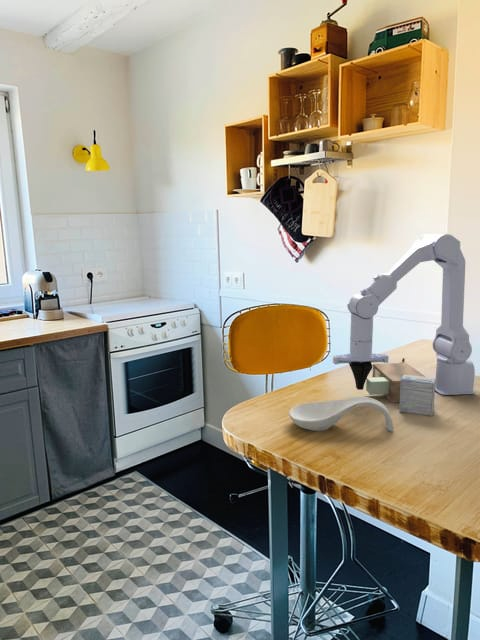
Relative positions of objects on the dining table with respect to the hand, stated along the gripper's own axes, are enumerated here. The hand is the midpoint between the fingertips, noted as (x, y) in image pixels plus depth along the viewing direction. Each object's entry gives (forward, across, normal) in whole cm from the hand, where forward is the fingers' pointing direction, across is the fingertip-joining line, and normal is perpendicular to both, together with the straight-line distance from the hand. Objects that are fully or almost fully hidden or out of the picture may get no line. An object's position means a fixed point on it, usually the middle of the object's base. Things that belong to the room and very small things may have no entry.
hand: (359, 388), depth 134 cm
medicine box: (+3, -11, +11) cm, 16 cm away
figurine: (+3, -18, -18) cm, 26 cm away
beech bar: (+1, -12, -7) cm, 14 cm away
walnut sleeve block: (+2, -12, -4) cm, 13 cm away
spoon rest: (+3, +10, +18) cm, 21 cm away
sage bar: (+1, -7, 0) cm, 7 cm away
